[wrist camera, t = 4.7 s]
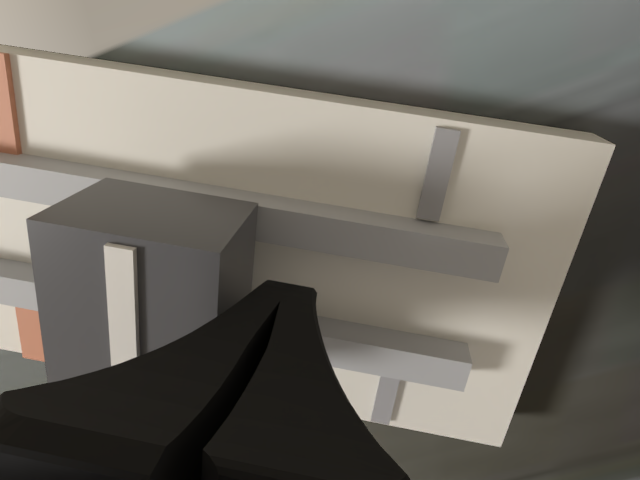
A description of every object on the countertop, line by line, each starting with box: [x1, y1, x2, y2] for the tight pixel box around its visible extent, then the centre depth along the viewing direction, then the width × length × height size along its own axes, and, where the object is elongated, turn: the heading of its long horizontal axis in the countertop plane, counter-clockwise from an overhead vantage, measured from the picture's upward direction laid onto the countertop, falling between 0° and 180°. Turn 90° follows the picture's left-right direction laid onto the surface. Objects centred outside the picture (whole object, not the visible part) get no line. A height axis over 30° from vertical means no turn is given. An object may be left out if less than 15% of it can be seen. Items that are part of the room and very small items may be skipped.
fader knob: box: [26, 178, 258, 383], centre depth 12 cm, size 4×5×4 cm
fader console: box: [0, 44, 616, 447], centre depth 15 cm, size 22×10×2 cm, turn 83°
